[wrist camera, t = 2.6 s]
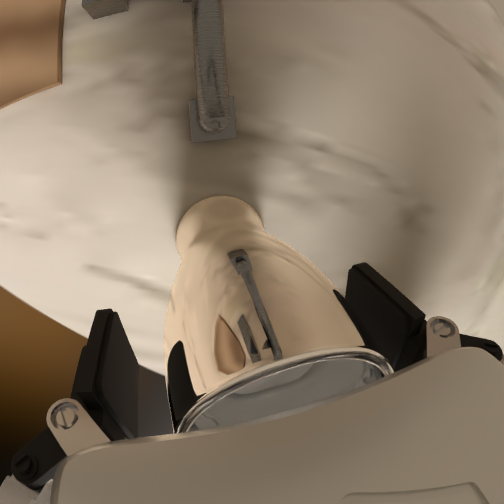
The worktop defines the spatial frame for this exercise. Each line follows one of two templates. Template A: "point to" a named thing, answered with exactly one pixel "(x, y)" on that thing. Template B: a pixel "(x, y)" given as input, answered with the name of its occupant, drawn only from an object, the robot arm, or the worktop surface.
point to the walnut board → (29, 47)
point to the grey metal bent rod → (198, 68)
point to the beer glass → (255, 324)
